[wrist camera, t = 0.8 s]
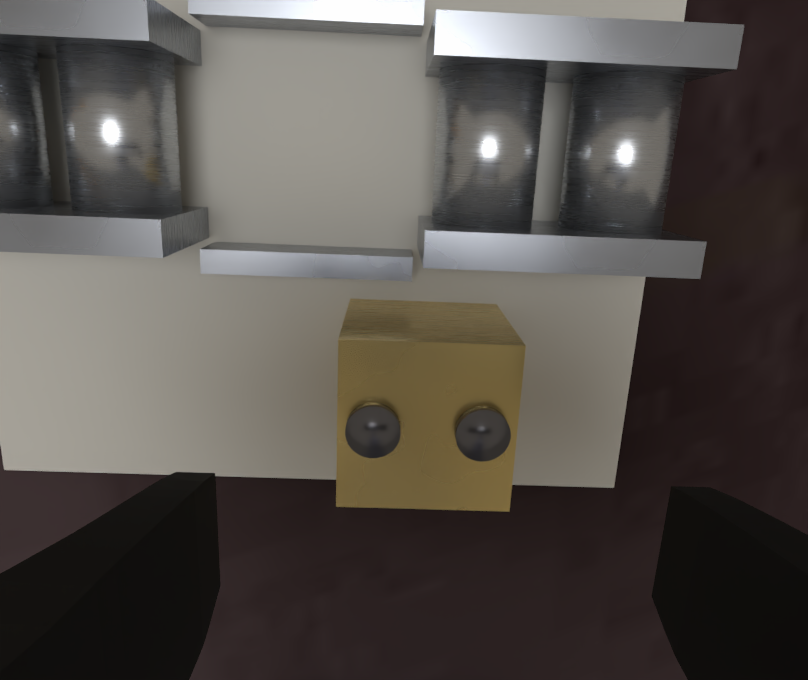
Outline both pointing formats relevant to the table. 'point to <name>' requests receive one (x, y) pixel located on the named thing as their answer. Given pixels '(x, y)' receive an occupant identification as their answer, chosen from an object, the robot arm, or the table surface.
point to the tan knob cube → (427, 405)
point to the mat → (296, 296)
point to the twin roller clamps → (454, 150)
